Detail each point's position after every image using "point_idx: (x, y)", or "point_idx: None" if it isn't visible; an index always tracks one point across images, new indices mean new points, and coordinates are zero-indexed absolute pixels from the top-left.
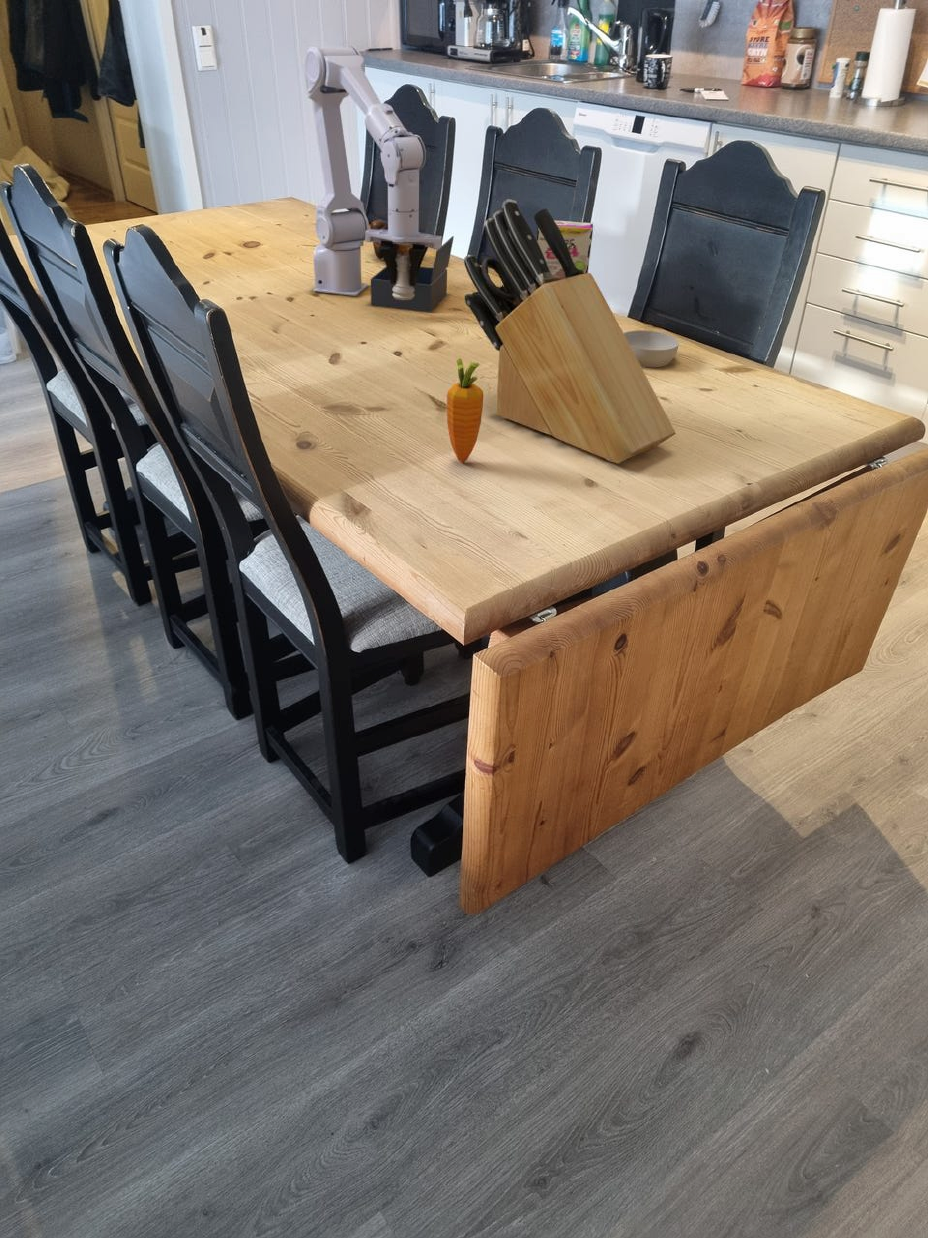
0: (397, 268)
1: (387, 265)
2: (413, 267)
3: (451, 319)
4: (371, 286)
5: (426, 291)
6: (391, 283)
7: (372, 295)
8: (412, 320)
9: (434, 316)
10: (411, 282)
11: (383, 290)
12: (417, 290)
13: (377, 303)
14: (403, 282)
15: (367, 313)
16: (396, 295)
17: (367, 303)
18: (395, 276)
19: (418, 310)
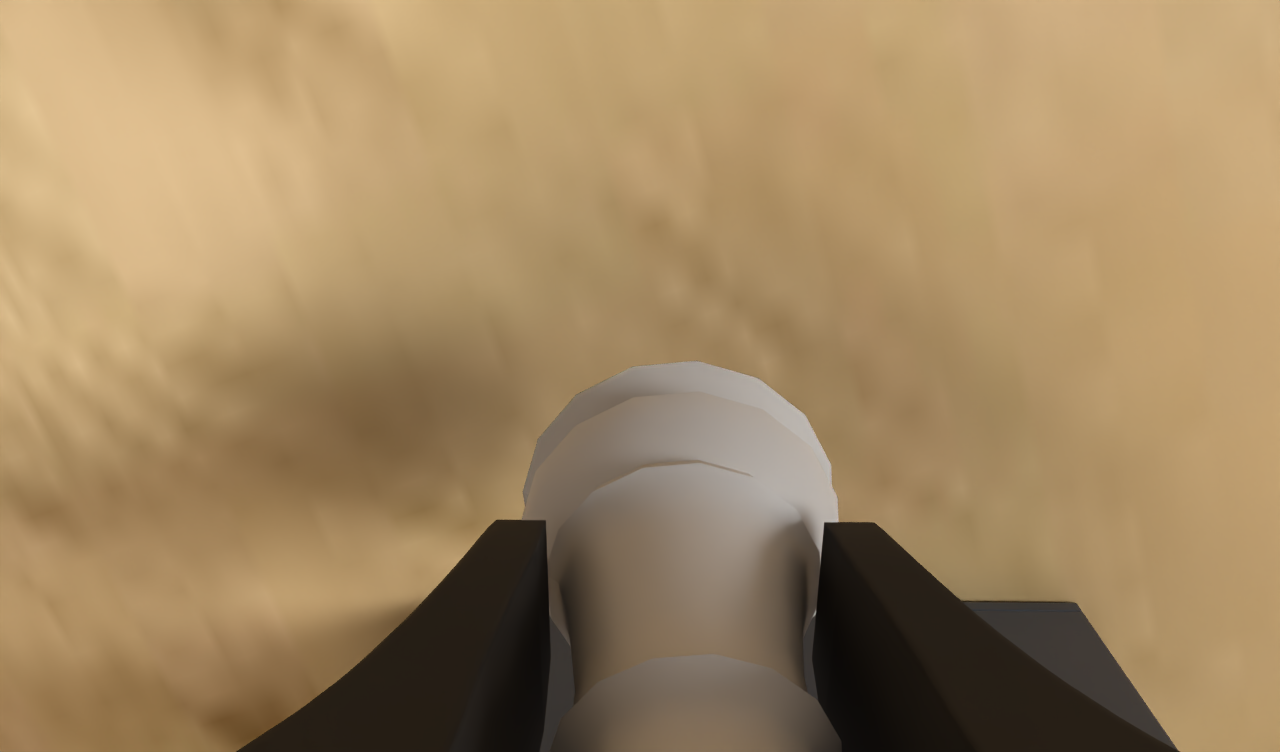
0: (798, 693)
1: (1031, 678)
2: (393, 676)
3: (185, 471)
4: (1161, 738)
5: None
6: (865, 523)
7: (1103, 665)
8: (545, 309)
9: (378, 501)
10: (510, 533)
11: None
12: None
13: (1018, 616)
14: (652, 521)
15: (1073, 367)
16: (747, 397)
17: (1121, 645)
18: (835, 660)
19: None
